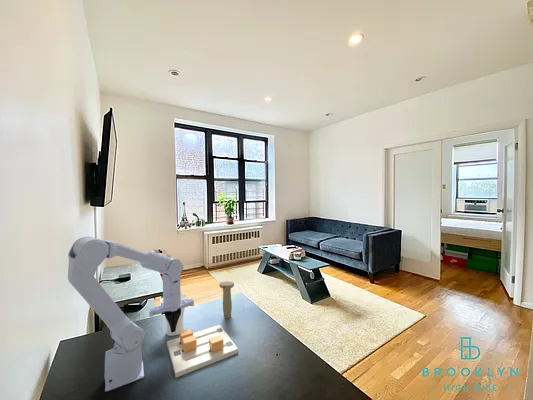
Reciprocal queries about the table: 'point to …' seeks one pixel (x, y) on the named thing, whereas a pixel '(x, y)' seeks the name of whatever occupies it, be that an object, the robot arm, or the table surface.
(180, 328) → the cup
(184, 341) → the tab middle
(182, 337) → the tab far
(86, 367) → the table surface
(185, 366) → the switch board
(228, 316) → the handle
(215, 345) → the orange block
